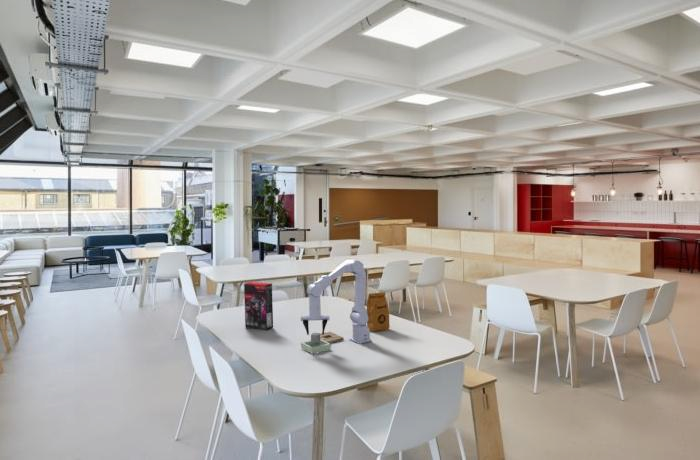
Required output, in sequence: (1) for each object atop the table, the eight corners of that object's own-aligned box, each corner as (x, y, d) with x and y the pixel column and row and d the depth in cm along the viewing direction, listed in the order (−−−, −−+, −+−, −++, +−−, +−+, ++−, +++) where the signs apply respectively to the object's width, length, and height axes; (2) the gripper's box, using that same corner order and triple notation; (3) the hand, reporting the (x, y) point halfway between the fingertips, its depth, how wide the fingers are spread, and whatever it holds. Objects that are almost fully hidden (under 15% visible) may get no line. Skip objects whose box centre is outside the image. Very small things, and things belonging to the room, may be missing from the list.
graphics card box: (244, 327, 260) (242, 283, 259) (251, 324, 266) (250, 281, 265) (266, 331, 252) (265, 285, 251) (274, 328, 258) (272, 283, 257)
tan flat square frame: (343, 340, 233) (343, 337, 233) (324, 344, 226) (324, 341, 226) (329, 334, 244) (329, 331, 244) (311, 338, 237) (311, 335, 237)
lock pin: (320, 346, 221) (320, 333, 220) (317, 348, 217) (317, 335, 217) (313, 346, 222) (313, 332, 221) (311, 348, 218) (310, 334, 218)
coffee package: (391, 330, 249) (391, 293, 247) (371, 333, 244) (371, 295, 243) (384, 326, 258) (383, 290, 257) (365, 328, 254) (364, 291, 252)
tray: (330, 349, 218) (330, 343, 218) (311, 354, 212) (311, 348, 212) (319, 344, 227) (319, 338, 227) (301, 348, 221) (300, 342, 221)
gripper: (329, 305, 222) (330, 331, 223) (301, 306, 222) (302, 332, 223) (328, 309, 215) (329, 335, 216) (299, 309, 215) (300, 336, 216)
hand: (315, 334), depth 219 cm, fingers open, 7 cm apart
